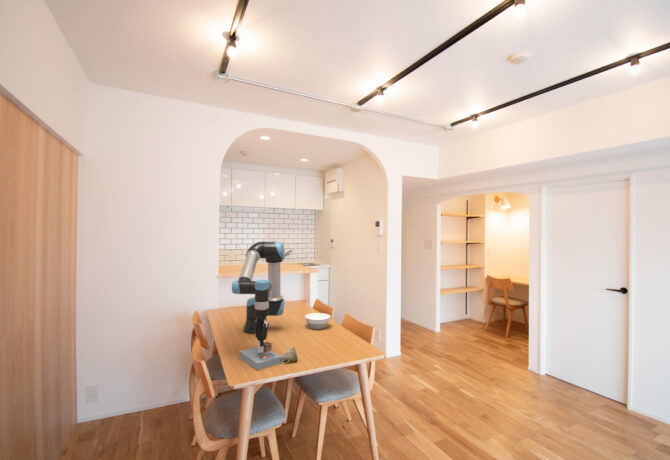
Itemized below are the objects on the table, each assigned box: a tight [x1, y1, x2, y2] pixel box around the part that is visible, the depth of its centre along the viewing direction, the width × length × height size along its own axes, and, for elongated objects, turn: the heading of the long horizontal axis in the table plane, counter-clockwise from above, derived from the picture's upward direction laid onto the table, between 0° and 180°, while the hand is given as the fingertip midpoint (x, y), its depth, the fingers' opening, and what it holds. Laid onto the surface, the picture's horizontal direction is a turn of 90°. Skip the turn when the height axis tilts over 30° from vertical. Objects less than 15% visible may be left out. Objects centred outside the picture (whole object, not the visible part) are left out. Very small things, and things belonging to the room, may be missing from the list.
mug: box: [280, 346, 299, 365], centre depth 169 cm, size 8×10×10 cm
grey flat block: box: [238, 346, 282, 371], centre depth 169 cm, size 21×14×4 cm, turn 42°
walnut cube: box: [263, 341, 273, 352], centre depth 174 cm, size 4×4×4 cm
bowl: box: [304, 312, 332, 330], centre depth 230 cm, size 20×20×8 cm
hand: (260, 351), depth 168 cm, fingers closed
